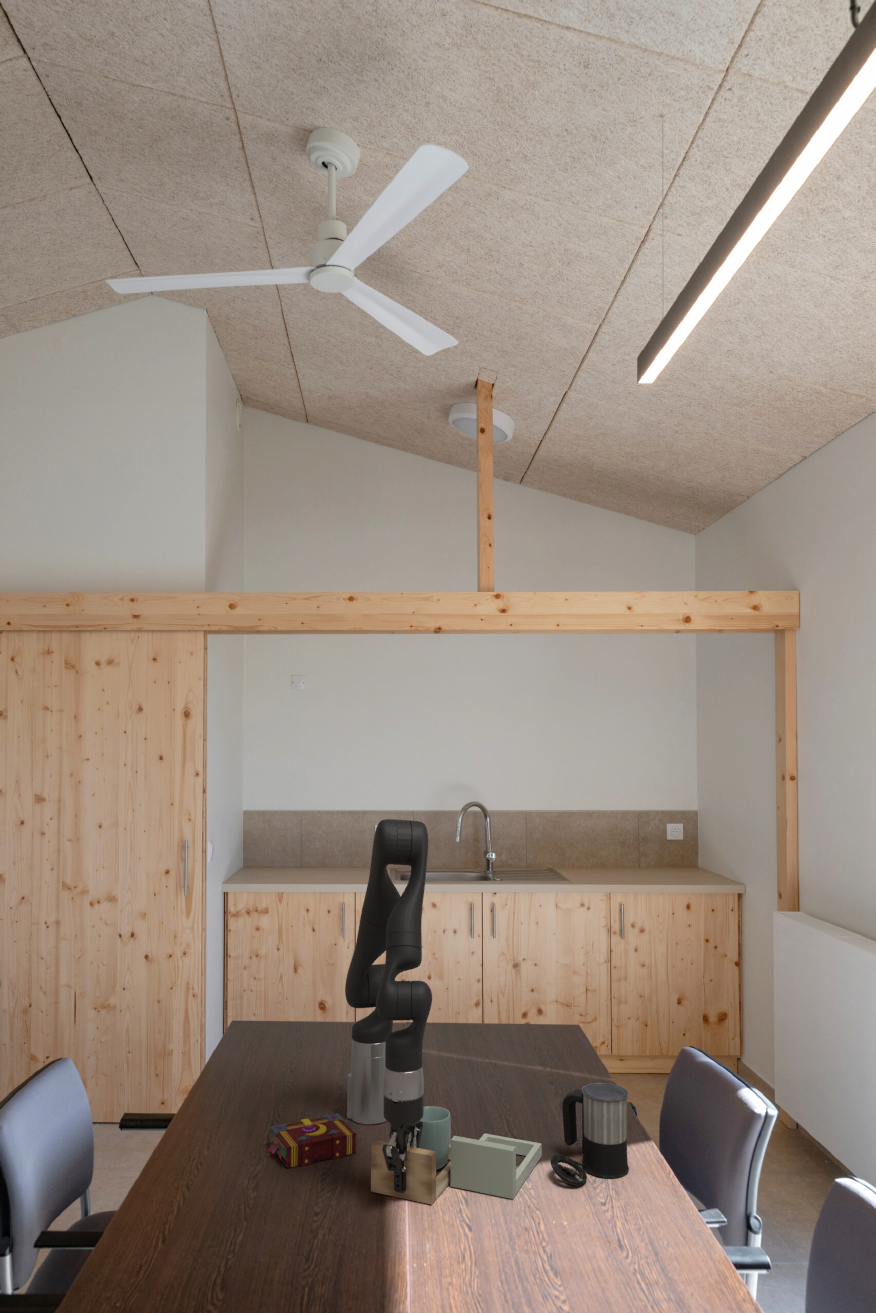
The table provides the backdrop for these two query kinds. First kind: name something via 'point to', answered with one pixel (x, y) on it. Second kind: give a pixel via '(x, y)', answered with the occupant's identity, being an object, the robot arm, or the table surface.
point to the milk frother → (595, 1133)
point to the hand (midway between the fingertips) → (403, 1187)
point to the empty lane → (492, 1164)
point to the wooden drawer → (410, 1174)
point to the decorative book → (313, 1140)
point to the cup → (436, 1133)
